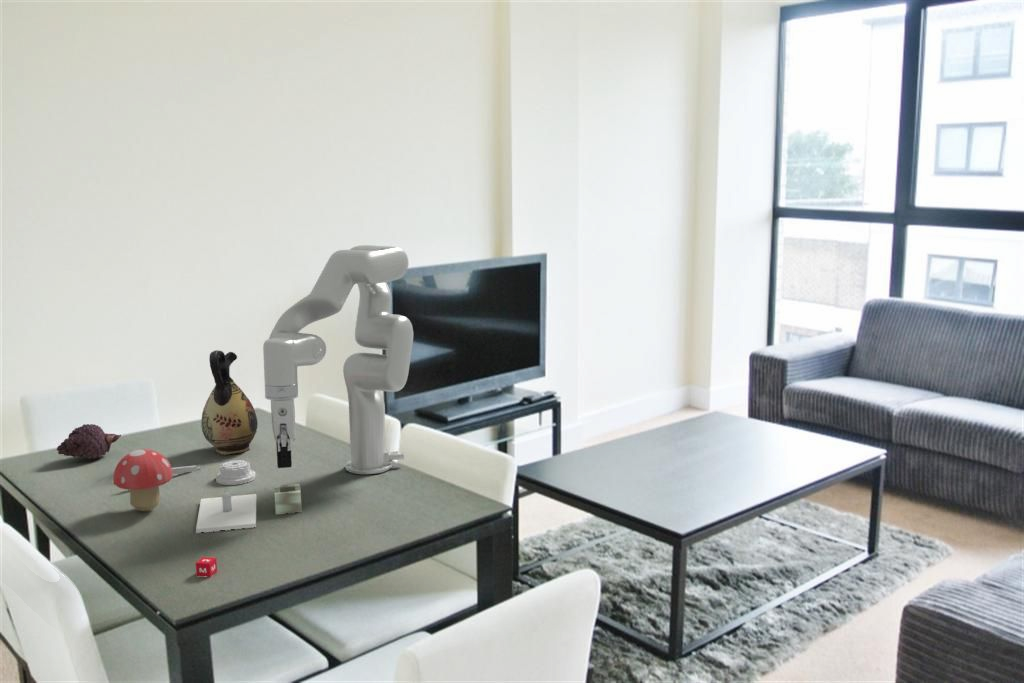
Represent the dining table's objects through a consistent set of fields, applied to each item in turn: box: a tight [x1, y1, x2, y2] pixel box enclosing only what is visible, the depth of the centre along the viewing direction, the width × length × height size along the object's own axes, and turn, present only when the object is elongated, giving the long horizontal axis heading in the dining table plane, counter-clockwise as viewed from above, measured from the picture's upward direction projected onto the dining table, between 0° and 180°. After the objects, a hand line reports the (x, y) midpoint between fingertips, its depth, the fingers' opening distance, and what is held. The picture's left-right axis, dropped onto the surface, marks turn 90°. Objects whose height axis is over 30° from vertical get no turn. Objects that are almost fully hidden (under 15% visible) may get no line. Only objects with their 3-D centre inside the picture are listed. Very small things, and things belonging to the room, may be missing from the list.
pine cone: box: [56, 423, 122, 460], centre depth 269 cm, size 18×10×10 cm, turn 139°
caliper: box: [172, 465, 202, 475], centre depth 252 cm, size 20×1×6 cm, turn 146°
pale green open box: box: [274, 483, 303, 516], centre depth 230 cm, size 6×6×5 cm
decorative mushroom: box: [112, 448, 174, 512], centre depth 228 cm, size 13×13×15 cm
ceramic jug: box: [200, 349, 259, 456], centre depth 273 cm, size 17×15×30 cm
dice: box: [195, 556, 218, 578], centre depth 195 cm, size 3×3×3 cm
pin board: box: [195, 491, 257, 534], centre depth 226 cm, size 13×20×6 cm, turn 14°
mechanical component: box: [215, 459, 257, 486], centre depth 252 cm, size 10×4×10 cm
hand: (284, 461), depth 227 cm, fingers open, 9 cm apart
